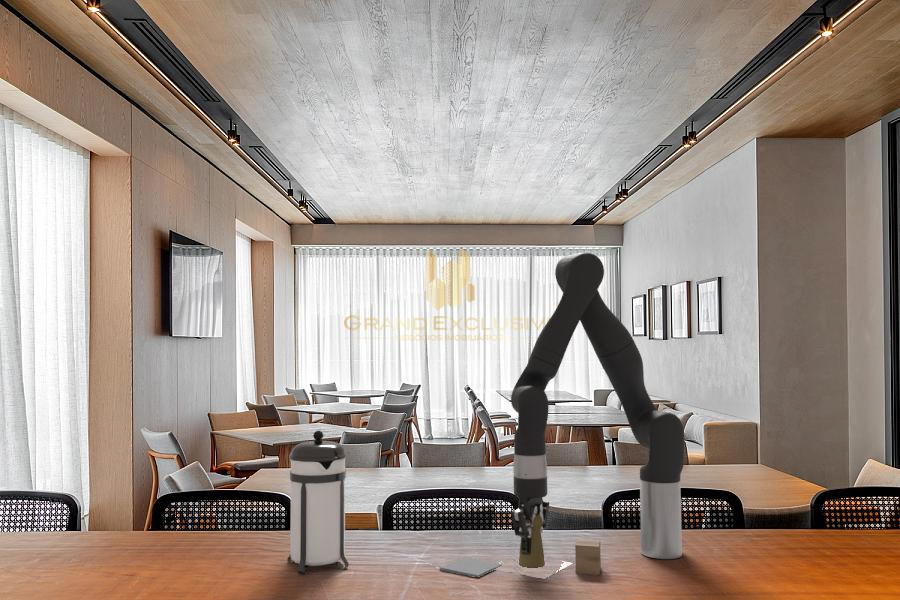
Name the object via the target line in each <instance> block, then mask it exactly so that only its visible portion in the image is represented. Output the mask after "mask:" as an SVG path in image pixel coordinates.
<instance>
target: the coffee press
mask: <svg viewBox="0 0 900 600" xmlns="http://www.w3.org/2000/svg"><path fill="white" fill-rule="evenodd" d="M324 436H325V435H324V433H323V432H322V431H321V430H315V431H314V433H313V435H312V437H313V439H314V440H313V441H304V442H300V443H298V444H296V445H294V446H293V448H292V450H291V452H290V453H289V455H288V458H289V461H290V471H289V481H290V531H289V534H290V537H289V539H290V550H289V551H290V553H289V556H288V557H287V563H288V564H290V563H291V564H294V563H296V564H298V567H297V572H296V573H297V574H298V575H301V576H302V575H306V573H307V571H308V569H309V567H311V566H312V567H313V566H315V567H316V566H325V565H331V564H335V565H337V566H338V567H339V568H340V569H341V570H345V569H347V568H348V567H349V564H350V563H349V561H348V560H347V559H346V557H345V551H346V549H345V546H346V539H345V537H346V536H345V535H346V533H345V531H346V526H345V525H346V497H345V496H346V478H347V469H346V459H347V457H348V453H347V452H346V451H345V448H344V446H343V445H341V443H338V442H337V441H336V442H335V441H332V440H331V441H330V440H329V441H328V440H323V438H324ZM340 560H341V561H342V562H343V563H344V565H343V563H341V561H340Z"/></svg>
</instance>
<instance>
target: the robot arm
mask: <svg viewBox="0 0 900 600" xmlns="http://www.w3.org/2000/svg"><path fill="white" fill-rule="evenodd" d="M554 274H555V281H556V283H557V285H558V286H559V287H558V288H560V290H561V292H562V295H561V297H560V300H559V302H558V305H557V306H556V309H555V310H554V312H553V313H552V315H551V317H550V318H549V319H548V321H547V322H546V323H545V325H544V327H543V329H541V331H540V333H539V335H538V337H537V339H536V341H535V344H534V345H533V349H532V351H531V353H530V356H529V358H528V361H527V364H526V366H525V368H524V369H523V371H522V372H521V374H520V376H519V377H518V379H517V381H516V382H515V385H514V386H513V390H512V392H511V396H510V402H511V407H512V409H513V410H514V411H515V412H516V413H517V414H518V416H517V417H518V419H517V428H516V429H515V431H514V438H513V442H514V443H513V453H514V454H513V464H512V465H513V494H514V496H515V497H518V505H517V509H516V510H512V511H511V513H510V515H511V520H512V525H513V529H514V535H515V536H518V537H520V543H521V553H522V554H524V555H526V554H527V555H530V554H531V534H532V529H531V528H532V527H533V526H534V522H533V521H534V519H535V515H536V514H538V515H540V516H541V517H542V520H543V525H542V527H541V529H540V530H541V534H543V532H544V529H546V528H547V525H548V524H547V523H548V517H549V510H550V509H549V508H550V502H549V501H546V500H543V498H545V497H547V495H548V461H547V455H546V430H547V425H548V418H549V399H548V395H547V393H546V392H545V391H546V388H547V386H548V384H549V382H550V381H551V380H553V379H554V378H555V377H556V375H557V373H558V371H559V369H560V367H561V365H562V362H563V359H564V356H565V353H566V351H567V349H568V346H569V344H570V341H571V339H572V337H573V335H574V333H575V331H576V329H577V327H578V326H579V325H578V324H579V322H580V324H581V325H582V329H583V330H584V331H585V334H586V336H587V338H588V340H589V342H590V345H591V346H592V349H593V350H594V353H595V355H596V357H597V358H598V360H599V363H600V365H601V367H602V369H603V370H604V372H605V374H606V376H607V378H608V380H609V382H610V385H611V386H612V388H613V390H614V391H615V394H616V395H617V397H618V399H619V402H620V403H621V406H622V409H623V411H624V413H625V416H626V419H627V422H628V424H629V427H630V430H631V432H632V434H633V437H634V438H635V440H636V441H637V442H638V444H639V445H641V446H642V447H643V448H646V449H648V450H649V451H648V452H649V453H648V454H649V455H648V461H647V462H646V464H644V465H641V466H640V469H639V492H640V493H639V498H640V500H639V502H640V508H639V509H640V553H641V555H643V556H645V557H649V558H653V559H659V560H673V559H678V558H681V557H682V556H683V546H682V545H683V544H682V543H683V542H682V536H683V535H682V497H681V495H682V494H681V474H682V471H683V468H684V463H685V429H684V424H683V422H682V420H681V419H680V417H678V416H677V415H676V414H674V413H671V412H667V411H661V410H658V409H657V407H656V406H655V404H654V402H653V401H652V399H651V397H650V395H649V393H648V391H647V389H646V385H645V377H644V374H645V373H644V362H643V358H642V355H641V353H640V351H639V349H638V347H637V344H636V342H635V340H634V339H633V336H632V334H631V333H630V332H629V330H628V329H627V327H626V326H625V325H624V324H623V323H622V322H621V320H620V319H619V318H618V317H617V316H616V315H615V314H614V313H613V312H612V311H611V309H609V307H608V306H607V304H606V303H605V301H603V298H602V297H601V294H600V292H599V290H598V289H599V287H600V286H601V284H602V282H603V279H604V277H605V267H604V264H603V261H602V260H601V259H600V258H599V257H598V256H597V255H596V254H594V253H591V252H578V253H574V254H568V255H565V256H563V257H561V258H560V260H558V261H557V263H556V267H555V273H554ZM525 520H530V523H525ZM526 526H527V527H528V530H527V529H526Z"/></svg>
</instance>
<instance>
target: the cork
mask: <svg viewBox="0 0 900 600" xmlns="http://www.w3.org/2000/svg"><path fill="white" fill-rule="evenodd" d="M533 522H534V526H533V527H532V528H531V529H532V534H531V554H530V555H527V554H526V555H524V554H522V553H521V542H520V544H519V553H518V554H519V561H518V564H519V565H520V566H522V567H527V568H538V567H543V566H545V558H546V557H545V553H544V547H543V544H544V543H543V538H542V533H541V530H540V529H541V527H542V525H543V520H542V517H541V516H540V515H538V514H536V515H535V519H534V521H533ZM525 523H530V520H525ZM526 529H527V530H528V527H527V526H526Z"/></svg>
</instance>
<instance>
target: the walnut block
mask: <svg viewBox="0 0 900 600" xmlns="http://www.w3.org/2000/svg"><path fill="white" fill-rule="evenodd" d="M574 545H575V549H574V550H575V552H574V553H575V554H574V555H575V574H581V575H582V574H583V575H600V573H601V563H602V562H601V561H602V560H601V540H594V539H593V540H592V539H582V538H581V539H577V540H576V543H575V544H574Z"/></svg>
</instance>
